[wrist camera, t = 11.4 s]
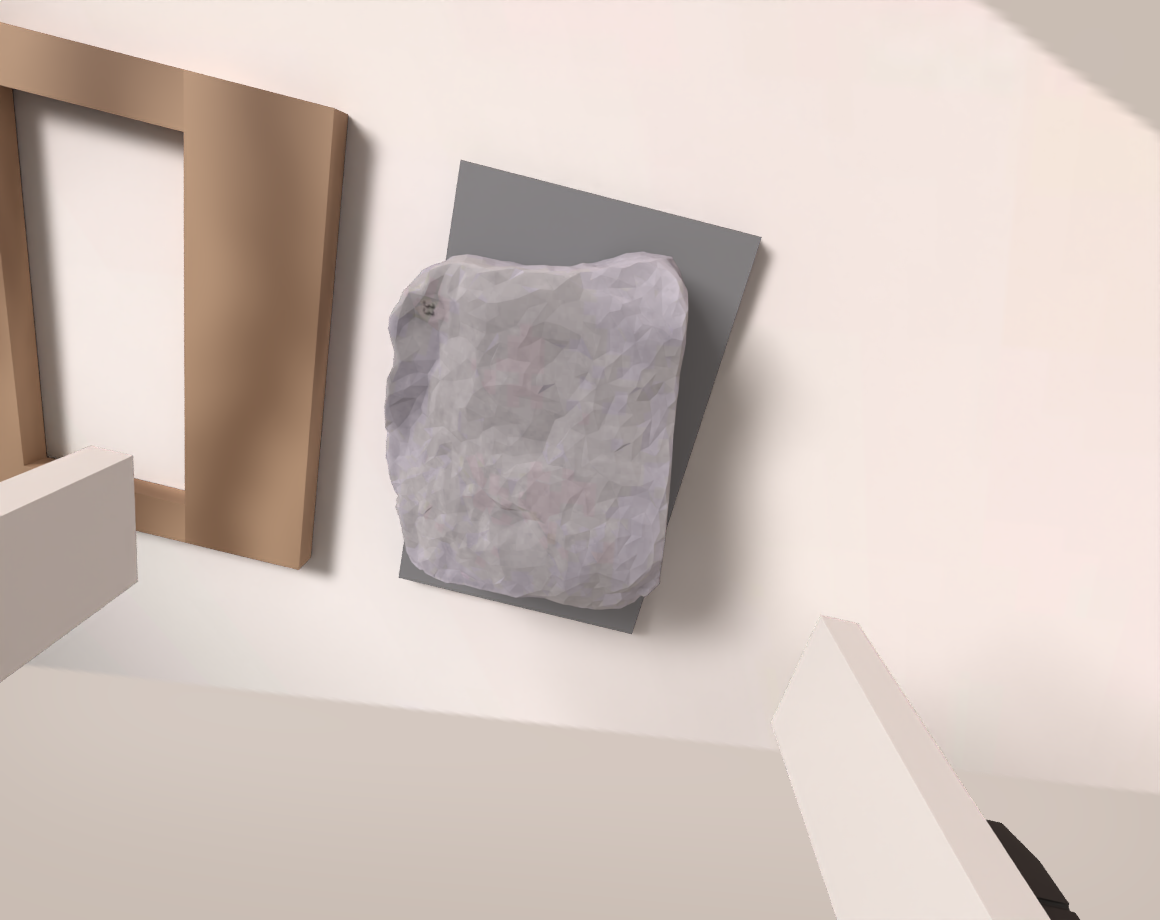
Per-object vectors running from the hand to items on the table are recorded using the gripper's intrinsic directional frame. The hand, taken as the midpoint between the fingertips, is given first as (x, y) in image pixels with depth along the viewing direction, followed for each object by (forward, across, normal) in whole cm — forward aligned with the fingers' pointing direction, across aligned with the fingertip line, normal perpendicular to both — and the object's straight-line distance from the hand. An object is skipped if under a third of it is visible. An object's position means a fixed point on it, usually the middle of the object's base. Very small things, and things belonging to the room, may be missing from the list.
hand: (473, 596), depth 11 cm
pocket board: (+12, -16, 0) cm, 20 cm away
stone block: (+12, 0, 0) cm, 12 cm away
